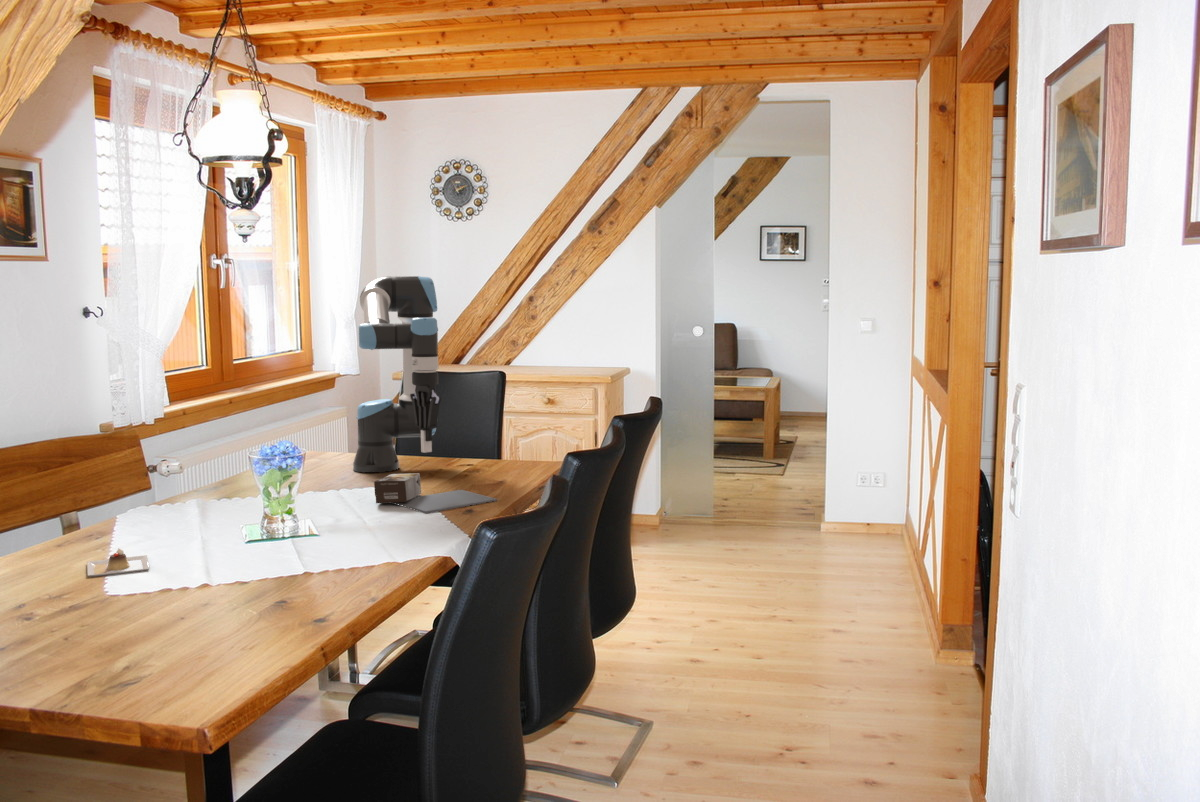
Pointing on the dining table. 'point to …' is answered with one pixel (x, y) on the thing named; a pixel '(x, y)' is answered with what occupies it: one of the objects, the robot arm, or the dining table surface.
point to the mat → (446, 501)
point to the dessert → (117, 564)
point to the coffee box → (397, 488)
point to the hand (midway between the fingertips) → (426, 451)
